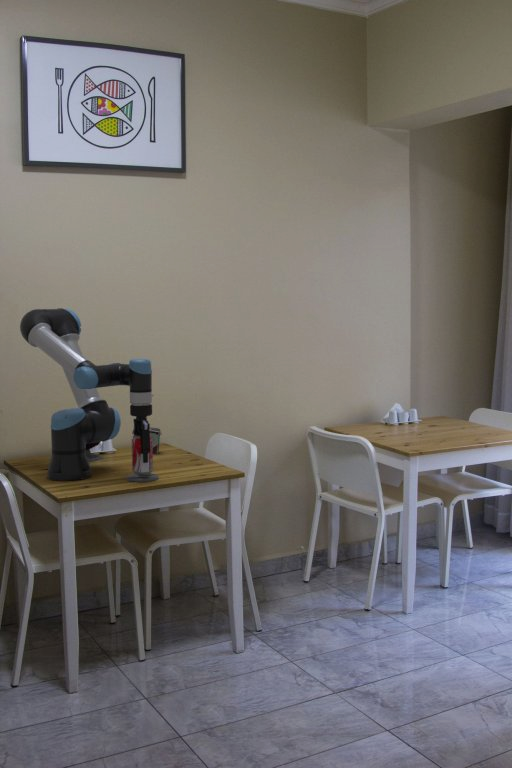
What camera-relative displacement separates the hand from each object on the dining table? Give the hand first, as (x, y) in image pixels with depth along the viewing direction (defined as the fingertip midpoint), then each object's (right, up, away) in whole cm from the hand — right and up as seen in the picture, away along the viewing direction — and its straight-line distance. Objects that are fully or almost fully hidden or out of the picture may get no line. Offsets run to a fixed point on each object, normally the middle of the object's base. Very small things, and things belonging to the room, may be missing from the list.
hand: (142, 469), depth 295 cm
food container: (-3, +2, +49) cm, 49 cm away
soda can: (0, -1, 0) cm, 1 cm away
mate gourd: (-27, 0, +37) cm, 45 cm away
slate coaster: (0, -3, 0) cm, 3 cm away
